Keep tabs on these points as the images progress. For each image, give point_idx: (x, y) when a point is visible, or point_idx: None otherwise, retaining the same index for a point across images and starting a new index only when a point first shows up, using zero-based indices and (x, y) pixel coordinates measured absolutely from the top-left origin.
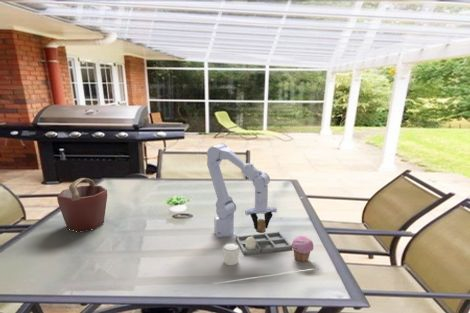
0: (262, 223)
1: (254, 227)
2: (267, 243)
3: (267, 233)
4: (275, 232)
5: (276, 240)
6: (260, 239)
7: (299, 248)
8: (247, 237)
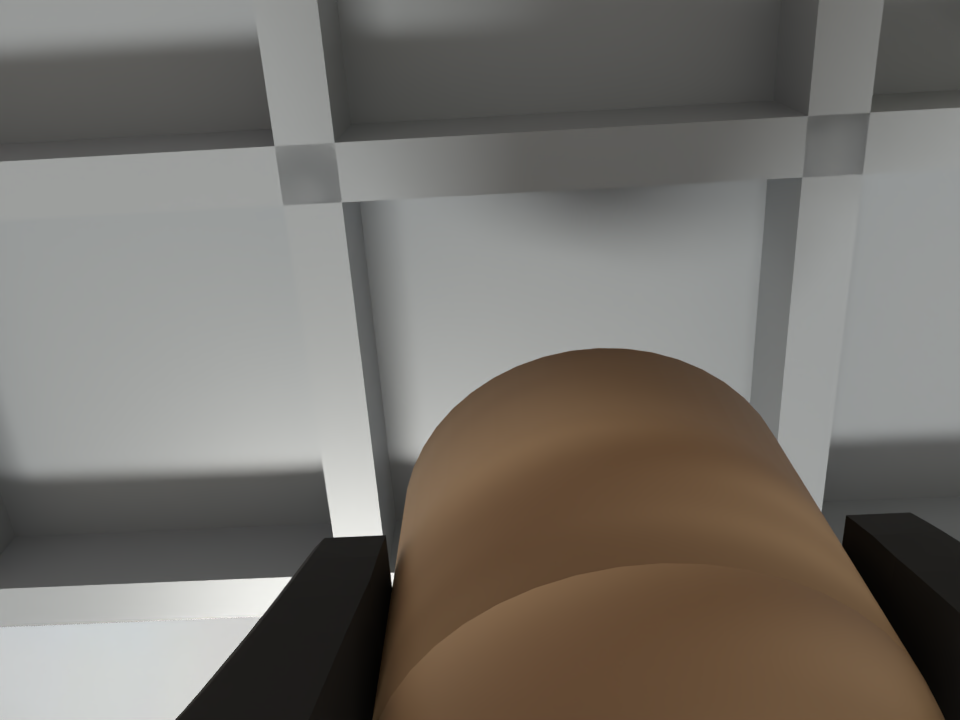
0: (676, 687)
1: None
2: (423, 123)
3: None
4: (58, 602)
5: (102, 150)
6: None
7: None
8: None
